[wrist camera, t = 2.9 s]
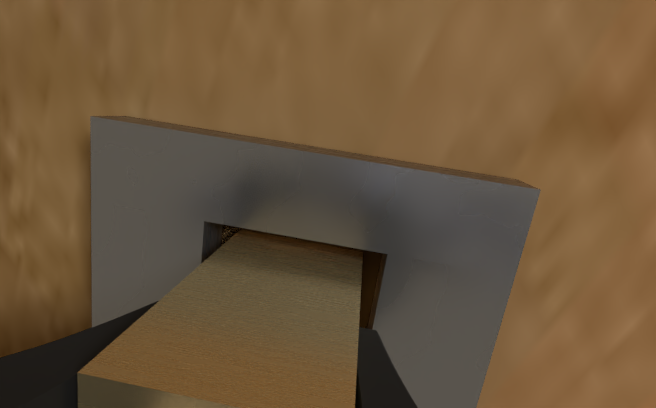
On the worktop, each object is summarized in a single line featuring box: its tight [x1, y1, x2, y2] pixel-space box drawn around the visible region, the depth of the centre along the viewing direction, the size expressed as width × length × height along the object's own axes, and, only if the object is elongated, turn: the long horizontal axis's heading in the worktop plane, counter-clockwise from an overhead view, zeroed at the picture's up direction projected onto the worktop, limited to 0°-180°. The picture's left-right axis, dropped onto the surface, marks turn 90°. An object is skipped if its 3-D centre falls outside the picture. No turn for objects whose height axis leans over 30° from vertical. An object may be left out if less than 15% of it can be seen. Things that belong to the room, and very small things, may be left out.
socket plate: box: [91, 116, 540, 408], centre depth 12 cm, size 10×12×2 cm
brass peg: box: [77, 229, 363, 408], centre depth 9 cm, size 4×4×7 cm
